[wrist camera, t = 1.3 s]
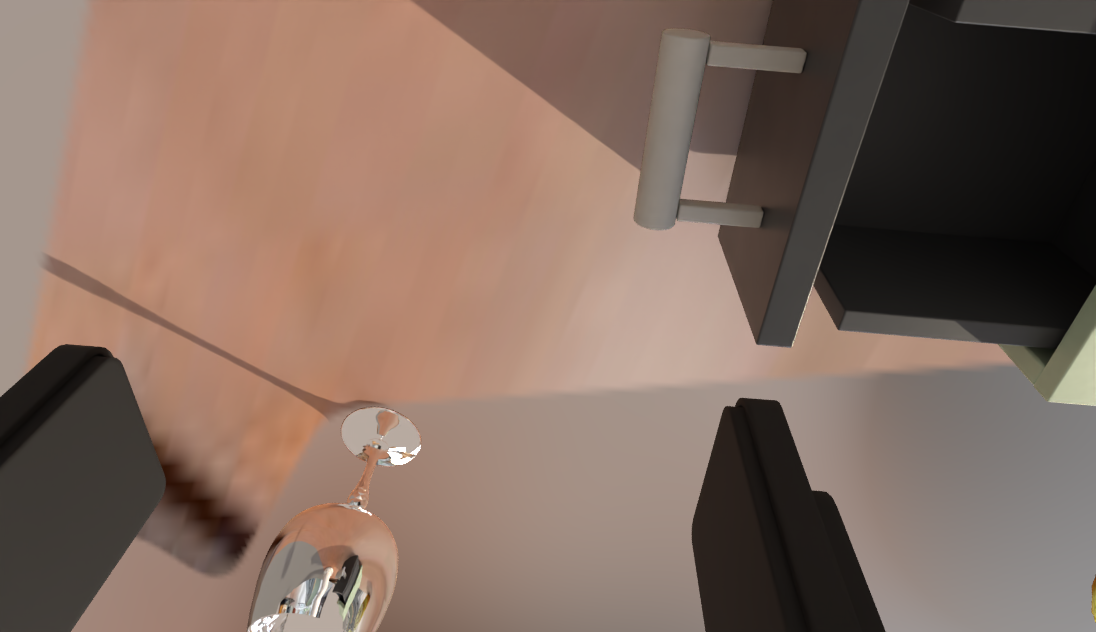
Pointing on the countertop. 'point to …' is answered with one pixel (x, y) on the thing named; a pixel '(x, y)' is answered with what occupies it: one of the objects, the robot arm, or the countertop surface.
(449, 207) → the countertop surface
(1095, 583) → the decorated donut
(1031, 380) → the green drawer cabinet
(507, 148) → the countertop surface
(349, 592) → the wineglass
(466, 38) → the countertop surface
